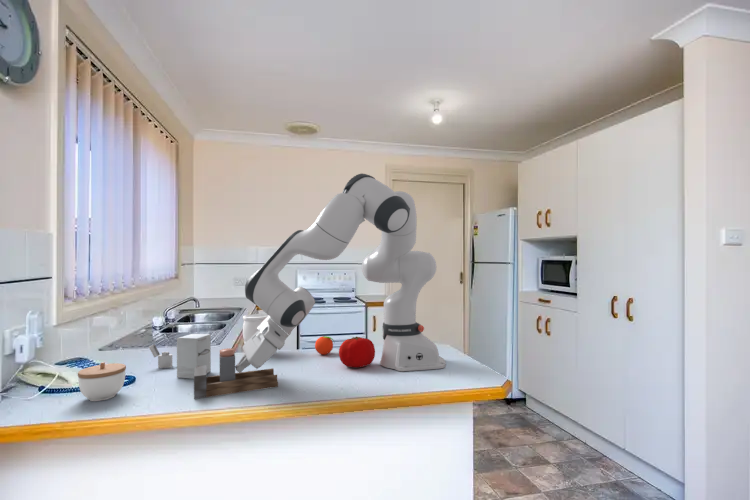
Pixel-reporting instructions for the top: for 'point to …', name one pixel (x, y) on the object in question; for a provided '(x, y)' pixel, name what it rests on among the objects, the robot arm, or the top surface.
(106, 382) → the lidded jar
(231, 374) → the dome-capped grey post
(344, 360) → the tomato
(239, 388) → the base
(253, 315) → the jar
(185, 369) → the supplement box
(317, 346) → the clementine
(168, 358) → the lighter
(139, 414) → the top surface
